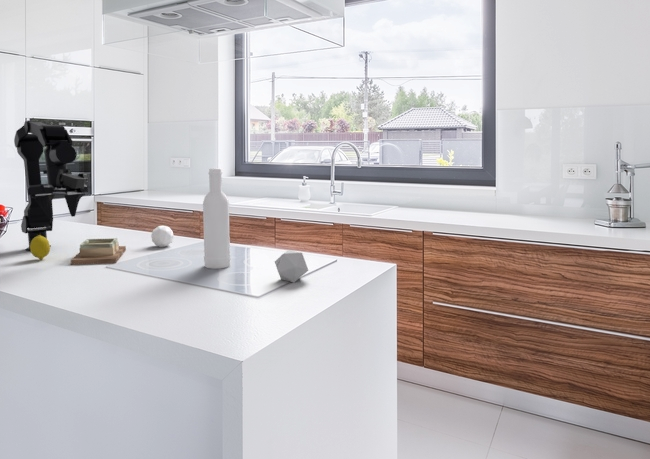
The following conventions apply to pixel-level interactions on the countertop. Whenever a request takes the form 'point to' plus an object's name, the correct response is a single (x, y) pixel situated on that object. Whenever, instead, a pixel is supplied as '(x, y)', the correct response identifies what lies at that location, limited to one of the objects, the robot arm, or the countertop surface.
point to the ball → (162, 236)
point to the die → (291, 266)
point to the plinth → (98, 258)
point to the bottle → (216, 224)
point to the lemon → (40, 247)
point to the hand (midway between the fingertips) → (62, 217)
